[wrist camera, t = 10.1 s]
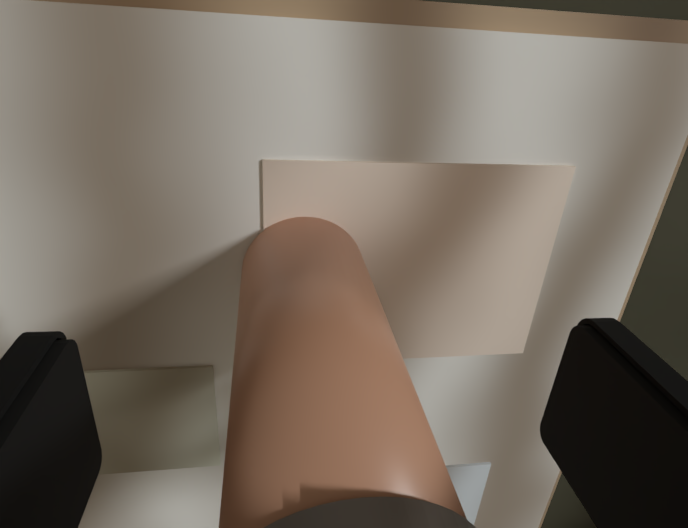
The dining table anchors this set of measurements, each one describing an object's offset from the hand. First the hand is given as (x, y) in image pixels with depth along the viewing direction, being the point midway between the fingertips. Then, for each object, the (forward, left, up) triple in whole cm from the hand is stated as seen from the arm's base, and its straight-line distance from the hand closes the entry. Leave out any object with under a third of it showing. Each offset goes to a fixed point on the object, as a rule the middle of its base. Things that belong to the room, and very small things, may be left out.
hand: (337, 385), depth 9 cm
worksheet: (-1, +6, -5) cm, 8 cm away
